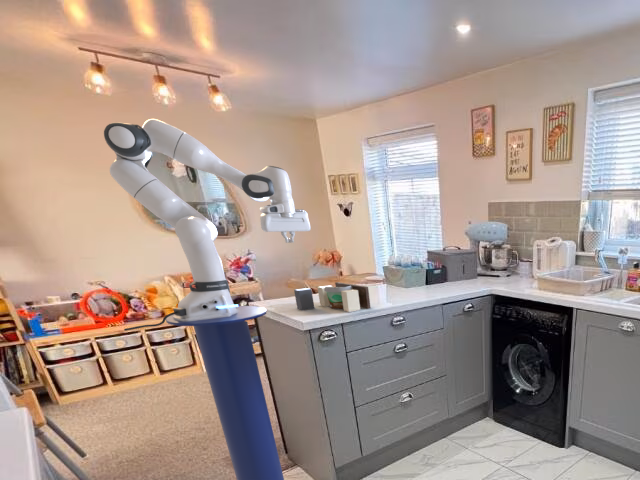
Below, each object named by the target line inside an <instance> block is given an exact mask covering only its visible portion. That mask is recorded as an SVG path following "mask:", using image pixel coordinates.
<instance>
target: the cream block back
mask: <svg viewBox="0 0 640 480" xmlns="http://www.w3.org/2000/svg"><path fill="white" fill-rule="evenodd" d="M325 286H326V287H331V288H334V287H335V285H334V286H333V285H323V286H317V295H318V300H319V305H320V306H321V307H325V308H326V307H330V304H329V300H328V296H327V293H326V291H324V289H325Z"/></svg>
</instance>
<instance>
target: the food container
mask: <svg viewBox="0 0 640 480" xmlns="http://www.w3.org/2000/svg"><path fill="white" fill-rule="evenodd" d="M324 286H325V289H324V291H326V293H327V296H328V300H329V304H330V306H329V308H330V309H333V310H344V308H343V301H342V294H341V291H345V290H352V286H351V285H350V286H348V287H336V286H334V288H331V287H326V286H327V285H324Z"/></svg>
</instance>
